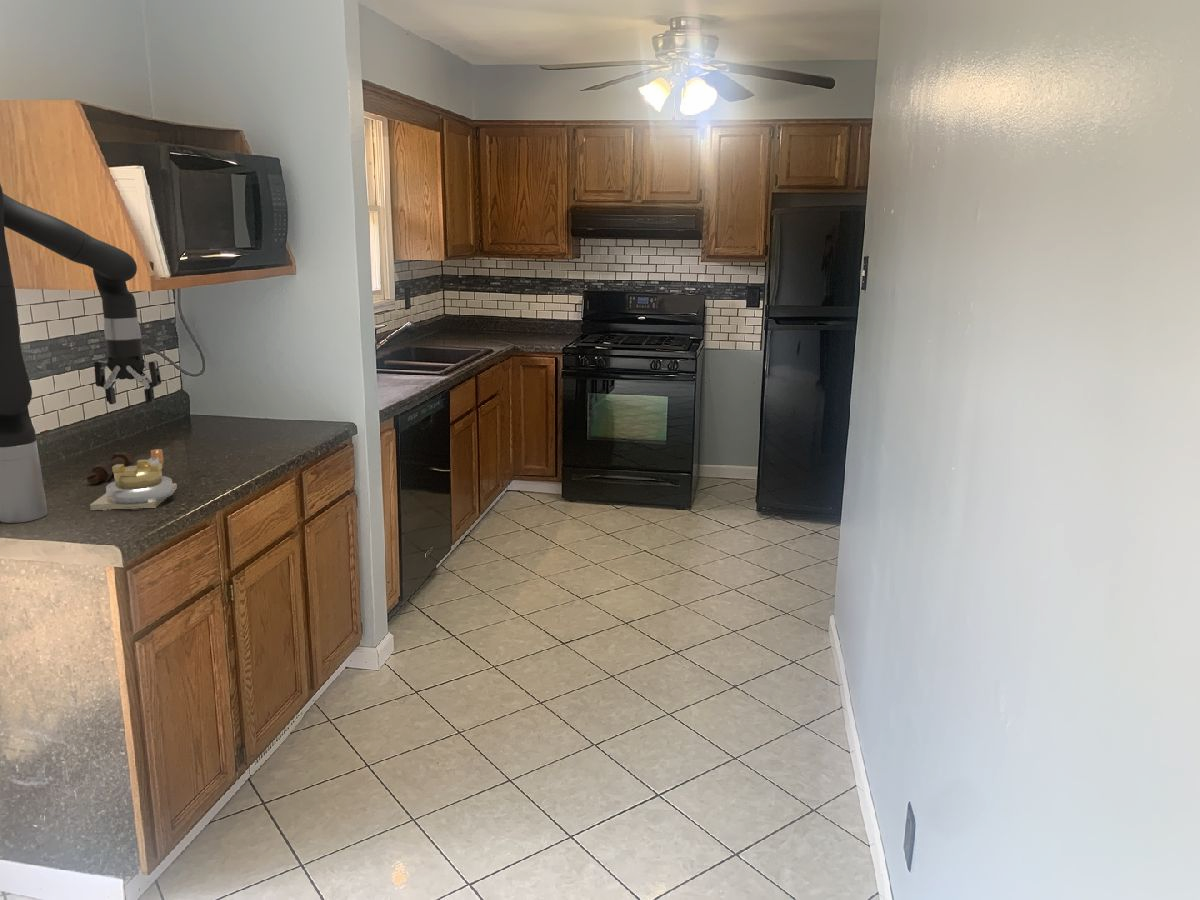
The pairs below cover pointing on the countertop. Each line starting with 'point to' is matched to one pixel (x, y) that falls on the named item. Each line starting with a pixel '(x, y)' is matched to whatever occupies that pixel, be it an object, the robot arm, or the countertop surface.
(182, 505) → the countertop surface
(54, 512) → the countertop surface
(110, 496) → the cap housing
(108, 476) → the bolt
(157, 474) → the yellow disc with lever
